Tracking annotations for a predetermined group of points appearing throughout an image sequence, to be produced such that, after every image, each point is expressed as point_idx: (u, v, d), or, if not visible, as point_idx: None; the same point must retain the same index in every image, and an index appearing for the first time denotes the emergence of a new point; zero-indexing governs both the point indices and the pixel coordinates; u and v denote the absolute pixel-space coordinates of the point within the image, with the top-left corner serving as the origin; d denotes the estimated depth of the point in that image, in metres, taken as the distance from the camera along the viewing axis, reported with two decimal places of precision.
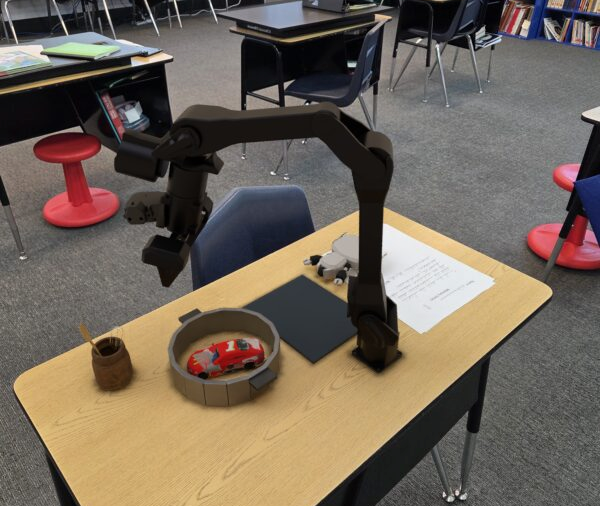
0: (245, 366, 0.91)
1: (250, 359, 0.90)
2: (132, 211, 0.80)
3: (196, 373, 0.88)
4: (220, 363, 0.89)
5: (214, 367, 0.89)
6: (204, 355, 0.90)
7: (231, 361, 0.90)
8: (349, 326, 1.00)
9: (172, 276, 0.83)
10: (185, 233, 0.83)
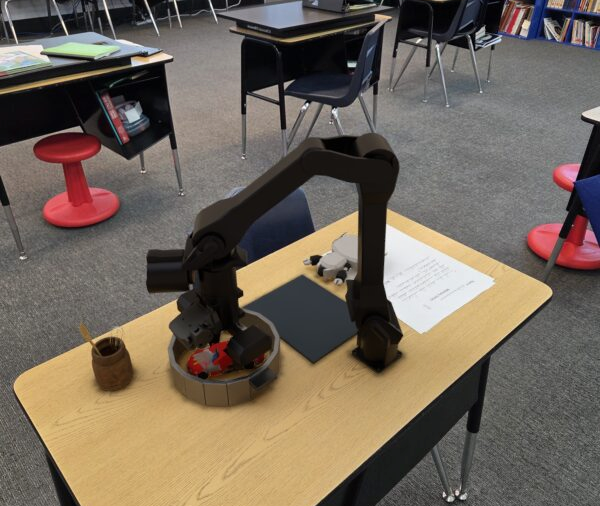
0: (245, 366, 0.91)
1: None
2: (201, 336, 0.79)
3: (196, 373, 0.88)
4: (220, 363, 0.89)
5: (214, 367, 0.89)
6: (204, 355, 0.90)
7: (231, 361, 0.90)
8: (349, 326, 1.00)
9: None
10: (238, 320, 0.86)
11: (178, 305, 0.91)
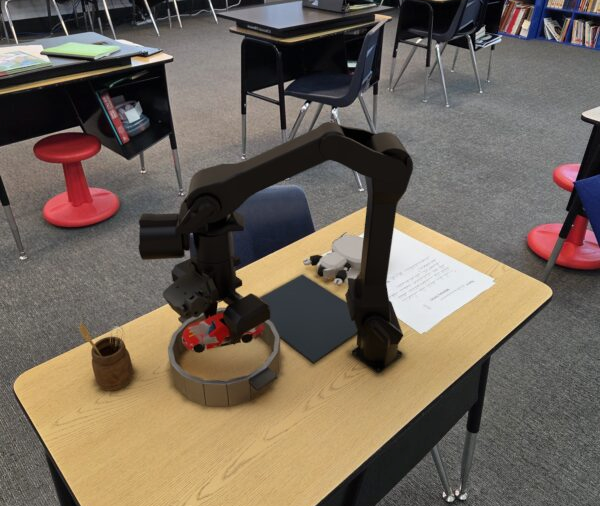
0: (243, 339, 0.87)
1: (248, 331, 0.87)
2: (196, 303, 0.76)
3: (192, 345, 0.85)
4: (217, 335, 0.86)
5: (210, 339, 0.86)
6: (200, 327, 0.87)
7: (228, 334, 0.86)
8: (349, 326, 1.00)
9: None
10: (235, 290, 0.83)
11: (173, 275, 0.88)
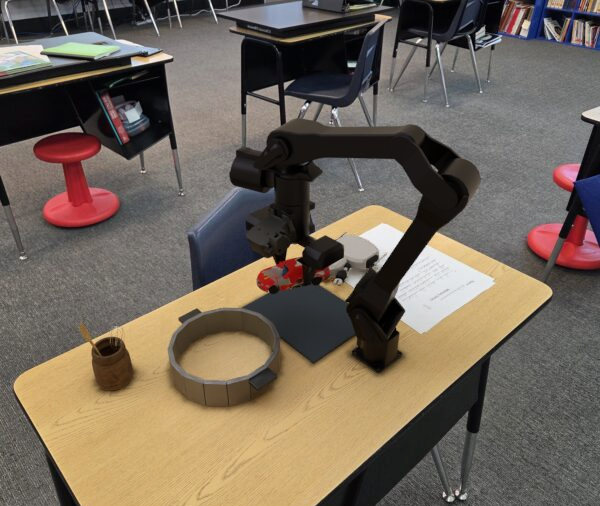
0: (313, 281, 0.94)
1: (318, 274, 0.94)
2: (281, 241, 0.83)
3: (267, 286, 0.92)
4: (290, 277, 0.93)
5: (284, 281, 0.92)
6: (273, 271, 0.94)
7: (300, 276, 0.93)
8: (349, 326, 1.00)
9: (316, 269, 0.92)
10: None
11: (247, 224, 0.94)
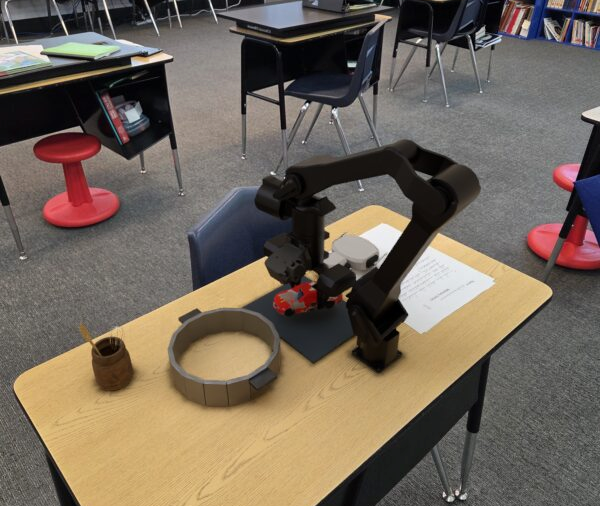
0: (326, 304, 1.00)
1: (331, 298, 1.00)
2: (297, 270, 0.89)
3: (283, 309, 0.98)
4: (305, 301, 0.98)
5: (299, 304, 0.98)
6: (289, 294, 1.00)
7: (314, 300, 0.99)
8: (349, 326, 1.00)
9: None
10: (323, 260, 0.96)
11: (265, 250, 1.00)
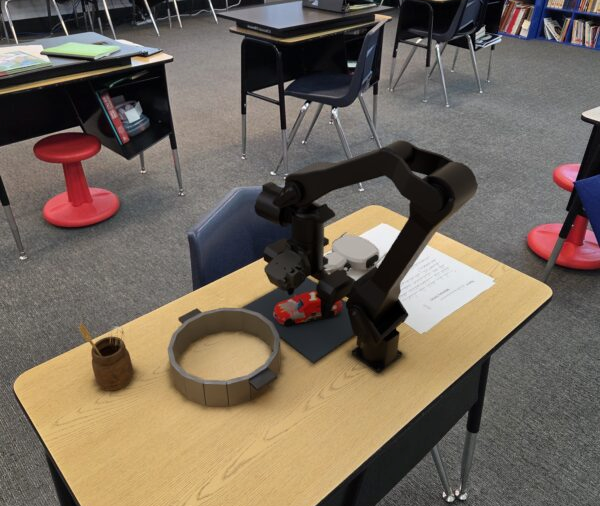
0: None
1: None
2: (297, 276, 0.90)
3: (284, 319, 0.99)
4: (305, 311, 1.00)
5: (299, 314, 0.99)
6: (289, 304, 1.01)
7: (314, 310, 1.00)
8: (349, 326, 1.00)
9: (333, 303, 0.98)
10: (322, 267, 0.96)
11: (265, 255, 1.01)
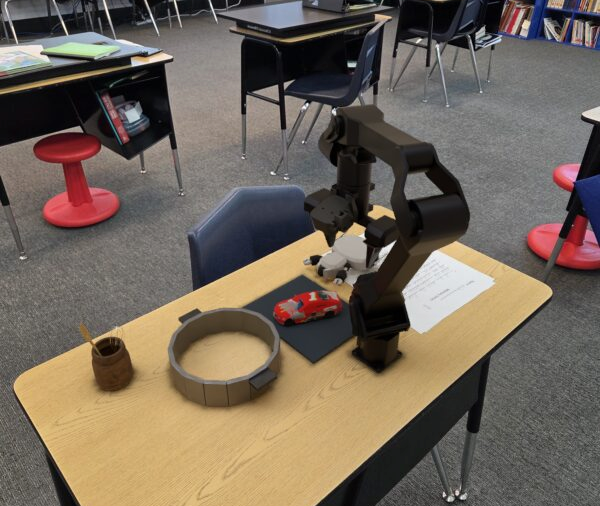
0: (325, 314, 1.01)
1: (330, 308, 1.01)
2: (346, 219, 0.87)
3: (284, 319, 0.99)
4: (305, 311, 1.00)
5: (299, 314, 0.99)
6: (289, 304, 1.01)
7: (314, 310, 1.00)
8: (349, 326, 1.00)
9: (378, 251, 0.95)
10: None
11: (306, 205, 0.98)
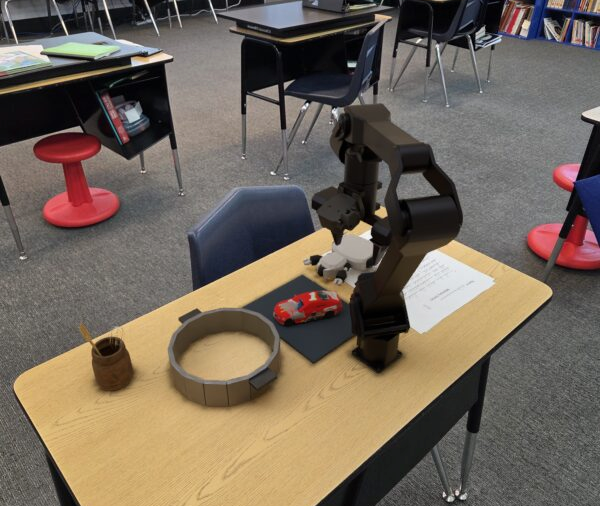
0: (325, 314, 1.01)
1: (330, 308, 1.01)
2: (352, 217, 0.87)
3: (284, 319, 0.99)
4: (305, 311, 1.00)
5: (299, 314, 0.99)
6: (289, 304, 1.01)
7: (314, 310, 1.00)
8: (349, 326, 1.00)
9: (385, 250, 0.95)
10: None
11: (313, 203, 0.98)
